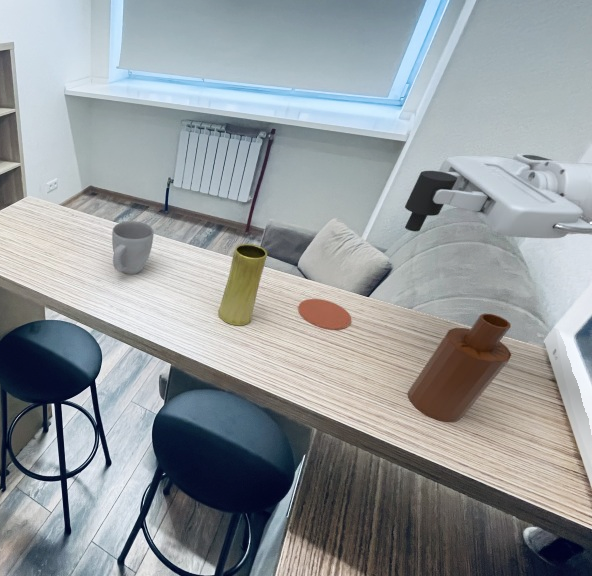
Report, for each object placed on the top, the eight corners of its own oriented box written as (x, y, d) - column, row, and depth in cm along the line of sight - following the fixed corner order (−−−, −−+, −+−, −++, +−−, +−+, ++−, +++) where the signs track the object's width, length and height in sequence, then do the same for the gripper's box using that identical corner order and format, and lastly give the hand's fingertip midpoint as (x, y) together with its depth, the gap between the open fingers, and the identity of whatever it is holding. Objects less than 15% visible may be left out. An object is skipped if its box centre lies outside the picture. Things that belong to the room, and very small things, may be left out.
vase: (212, 308, 80) (225, 244, 72) (240, 303, 81) (256, 240, 73) (228, 328, 75) (245, 262, 67) (257, 322, 76) (278, 257, 68)
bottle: (472, 414, 59) (543, 330, 50) (441, 427, 57) (508, 343, 48) (427, 382, 64) (483, 300, 55) (397, 394, 62) (450, 311, 53)
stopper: (435, 232, 59) (464, 178, 54) (415, 237, 58) (443, 182, 53) (408, 221, 62) (434, 169, 57) (389, 225, 61) (413, 172, 56)
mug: (122, 254, 98) (124, 217, 92) (156, 264, 94) (160, 226, 88) (96, 278, 90) (97, 239, 84) (132, 290, 86) (135, 250, 80)
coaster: (362, 322, 76) (362, 321, 75) (325, 334, 73) (325, 333, 73) (322, 296, 83) (323, 294, 82) (287, 306, 80) (288, 304, 80)
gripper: (588, 258, 46) (445, 242, 50) (498, 192, 62) (394, 183, 66) (630, 206, 43) (473, 193, 46) (523, 150, 59) (412, 144, 62)
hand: (426, 187), depth 56 cm, fingers closed on stopper, 4 cm apart
